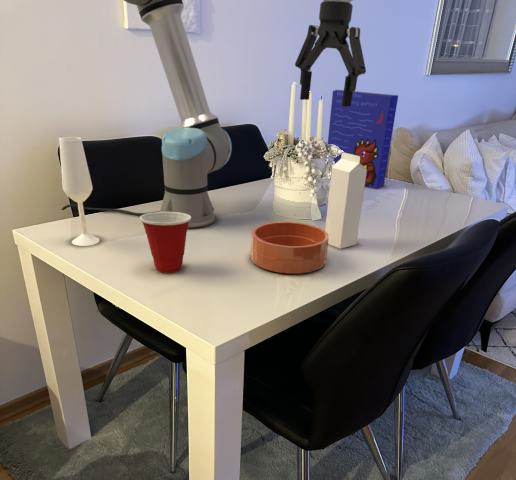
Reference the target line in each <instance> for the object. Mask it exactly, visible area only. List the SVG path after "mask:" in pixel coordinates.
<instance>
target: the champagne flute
mask: <svg viewBox="0 0 516 480" xmlns="http://www.w3.org/2000/svg"><path fill="white" fill-rule="evenodd" d="M58 141H59V155H60V156H59V157H60V168H61V169H60V170H61V184H62V185H61V186H62V191H63V193H64V194H66V196H67V197H68V198H69V199H71V200H72V201H73V202H76V203H77V205H78V208H77V209H78V215H79V221H80V228H81V234H80V235H79V236H77V237H76V238H74V239H73V240H72V241H71V244H72V245H74V246H80V247H85V246H93V245H97V244H98V243H100V238H99V237H96V236H94V235H92V234H90V233H88V229H87V222H86V216H85V215H86V214H85V209H83V207H84V202H86V200H87V199H88V198H89V197H90V196H91V194H92V191H93V189H94V187H93V183H92V179H91V173H90V170H89V166H88V161H87V157H86V153H85V149H84V145H83V140H82V138H81V137H78V136H63V137H59V138H58Z"/></svg>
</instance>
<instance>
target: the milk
mask: <svg viewBox="0 0 516 480" xmlns="http://www.w3.org/2000/svg"><path fill="white" fill-rule="evenodd" d="M366 172H367V169H366V168H365V167H364V166H362V165H361V164H360V156H356V155H352V154H348V153H344V152H342V156H341V159H340V160H339V161H338V162H337V163H336V164H335V165H334V166H333V167H332V171H331V180H329V181H330V182H329V190H328V200H327V211H326V220H325V229H324V231H326V232H327V234H328V237H329V239H328V245H330V246H332V247H334V248H337V249H339V250H341V249H346V248H349V247H352V246H356V245H357V243H358V235H359V229H360V221H361V213H362V207H363V200H364V192H365V179H366Z"/></svg>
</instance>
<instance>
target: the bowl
mask: <svg viewBox="0 0 516 480" xmlns="http://www.w3.org/2000/svg"><path fill="white" fill-rule="evenodd" d="M328 239H329V237H328V234H327V232H326V231H325V229H323V228H321V227H319V226H316V225H312V224H309V223H304V222H298V221H274V222H273V221H272V222H266V223H263V224H260V225H258V226H255V228H253V229H252V230H251V246H250V247H251V248H250V259H251V261H252V263H253V264H255V265H256V267H257V266H258V267H259V268H261V269H264V270H267V271H270V272H273V273H274V272H275V273H278V274H287V275H288V274H289V275H290V274H291V275H292V274H293V275H294V274H295V275H297V274H307V273H312V272H315V271H318V270H320V269H322V268H323V267H324V266H325V265H326V263H327V256H328V248H329V244H328Z"/></svg>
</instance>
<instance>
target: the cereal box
mask: <svg viewBox="0 0 516 480" xmlns="http://www.w3.org/2000/svg"><path fill="white" fill-rule="evenodd" d="M343 93H344V89H335V90H332V96H331V104H330V105H331V106H330V117H329V126H328V137H327V145H328V144H334V145H336V146H338V147H339V148H340V149H341V150H343V151H344V153H348V154H352V155H356V156H360V164H361V165H362V166H364V167H365V168H366V169H367V172H366V179H365V186H364V188H369V189H375V190H377V189H380V188H383V187H384V186H385V181H386V176H387V175H386V174H387V168H388V162H389V156H390V149H391V144H392V139H393V138H392V137H393V130H394V125H395V119H396V114H397V113H396V112H397V106H398V101H399V95H398V94H387V93H376V92H366V91H365V92H364V91H357V90H355V92H353V94H352V101H351V106H346V107H344V106H342V100H343ZM341 156H342V154H341V155H339V156H337V157H336V158H334V161H335V163H337V162H338V161H339V160H340V159H341Z"/></svg>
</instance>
